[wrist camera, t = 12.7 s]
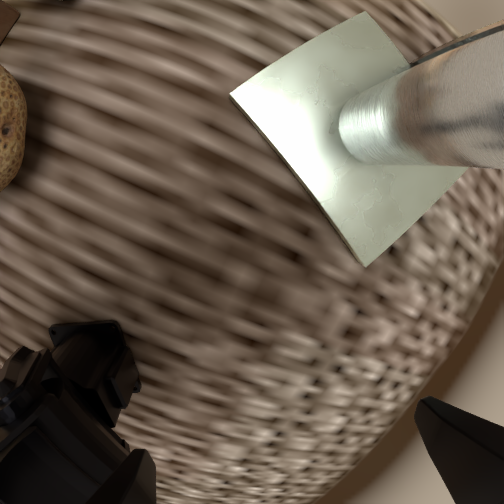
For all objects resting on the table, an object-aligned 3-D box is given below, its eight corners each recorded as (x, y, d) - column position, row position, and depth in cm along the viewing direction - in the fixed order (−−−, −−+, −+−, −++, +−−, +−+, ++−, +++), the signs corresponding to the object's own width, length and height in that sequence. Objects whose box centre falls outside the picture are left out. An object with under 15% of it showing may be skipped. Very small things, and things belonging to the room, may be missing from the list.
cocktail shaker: (365, 179, 18) (573, 211, 4) (324, 114, 17) (513, 31, 3) (414, 143, 18) (601, 142, 4) (377, 82, 16) (553, 12, 3)
